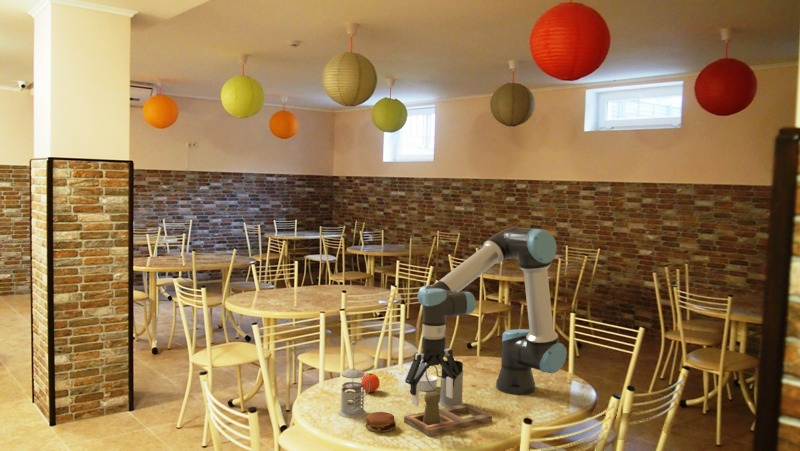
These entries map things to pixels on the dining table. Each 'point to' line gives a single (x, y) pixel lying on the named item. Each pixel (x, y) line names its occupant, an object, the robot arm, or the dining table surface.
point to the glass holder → (457, 387)
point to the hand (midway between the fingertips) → (432, 400)
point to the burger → (380, 422)
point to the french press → (352, 393)
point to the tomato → (373, 382)
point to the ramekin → (425, 385)
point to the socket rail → (449, 420)
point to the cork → (431, 408)
